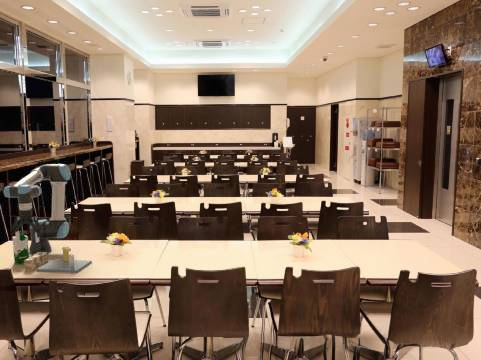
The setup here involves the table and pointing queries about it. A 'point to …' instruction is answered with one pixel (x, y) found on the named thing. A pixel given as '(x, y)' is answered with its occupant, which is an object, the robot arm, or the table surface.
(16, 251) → the milk carton
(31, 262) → the link
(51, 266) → the deck
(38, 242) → the robot arm
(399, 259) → the table surface
